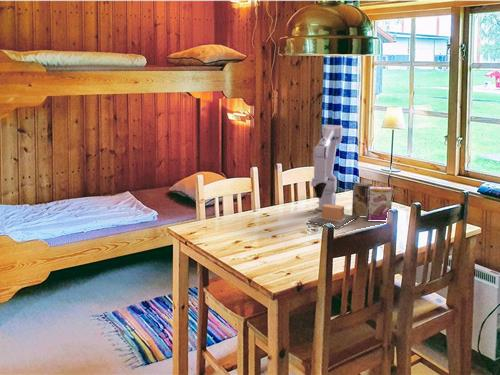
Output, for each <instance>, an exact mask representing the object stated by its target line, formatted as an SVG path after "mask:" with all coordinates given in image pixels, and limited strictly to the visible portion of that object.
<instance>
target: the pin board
mask: <svg viewBox="0 0 500 375" xmlns="http://www.w3.org/2000/svg"><path fill="white" fill-rule="evenodd" d="M355 218H357V219H358V217H357V216H352V214H346V213H344V219H342V220H341V221H338V220H331V219H324V218H322V213H320V214H319V215H317V216H315V217H313V218H310V219H308V221H307V222H310V223H309V224H311V223H317V224H321V225H324V224H327V223H331V224H333V225H334V226H335V227H338V228H339V227H341V226H343V225H344V224H346V223H348V222H349V221H351V220H353V219H355ZM355 220H356V219H355ZM353 221H354V220H353ZM348 224H349V223H348ZM321 225H320V226H321ZM335 227H334V228H333V229H336V228H335ZM343 227H344V226H343Z"/></svg>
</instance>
